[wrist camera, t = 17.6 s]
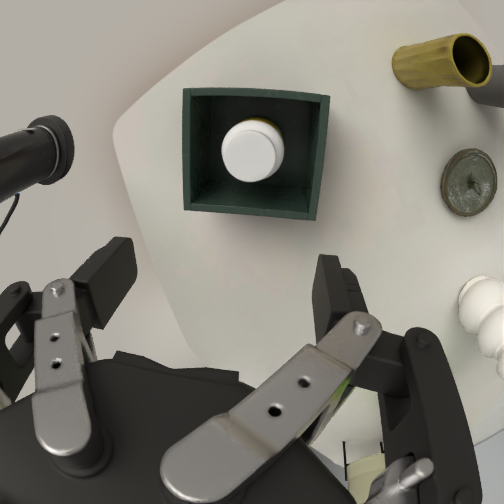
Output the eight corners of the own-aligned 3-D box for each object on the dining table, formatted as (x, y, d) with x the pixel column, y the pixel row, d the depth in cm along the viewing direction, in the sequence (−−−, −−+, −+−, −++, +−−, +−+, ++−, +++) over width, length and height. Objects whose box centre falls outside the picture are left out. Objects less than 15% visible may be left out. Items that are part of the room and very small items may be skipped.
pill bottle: (223, 133, 35) (200, 148, 25) (265, 106, 32) (258, 108, 23) (251, 173, 37) (240, 202, 27) (293, 148, 35) (298, 167, 25)
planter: (341, 432, 68) (346, 504, 48) (396, 421, 65) (408, 491, 45) (343, 450, 75) (346, 512, 55) (391, 440, 72) (400, 501, 52)
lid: (491, 169, 34) (511, 170, 29) (475, 226, 36) (494, 232, 31) (445, 137, 33) (464, 134, 28) (428, 199, 36) (446, 203, 31)
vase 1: (389, 82, 30) (444, 78, 17) (392, 40, 27) (445, 18, 14) (430, 94, 29) (494, 100, 17) (432, 53, 26) (496, 43, 14)
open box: (205, 184, 39) (183, 210, 30) (207, 90, 33) (182, 88, 24) (307, 192, 38) (315, 221, 30) (317, 97, 32) (330, 95, 23)
